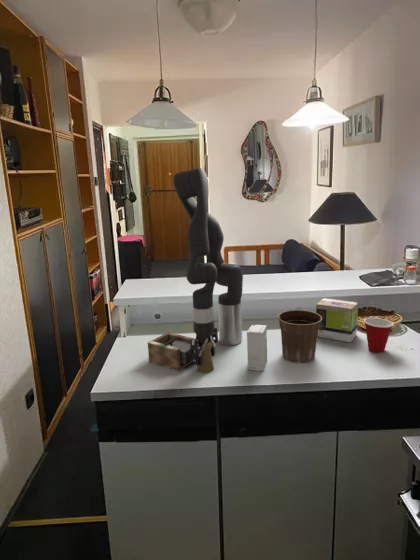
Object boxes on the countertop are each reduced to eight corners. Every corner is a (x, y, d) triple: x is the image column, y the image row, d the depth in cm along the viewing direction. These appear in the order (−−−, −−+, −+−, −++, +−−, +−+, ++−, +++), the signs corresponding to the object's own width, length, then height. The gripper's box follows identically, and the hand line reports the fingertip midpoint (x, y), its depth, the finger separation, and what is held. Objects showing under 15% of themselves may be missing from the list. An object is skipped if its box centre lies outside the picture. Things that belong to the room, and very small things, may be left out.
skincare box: (263, 371, 153) (263, 333, 149) (246, 369, 155) (246, 331, 151) (267, 361, 161) (267, 324, 157) (251, 359, 162) (251, 323, 158)
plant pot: (293, 343, 175) (294, 306, 171) (328, 355, 164) (330, 315, 160) (268, 356, 164) (269, 317, 160) (304, 370, 153) (306, 328, 149)
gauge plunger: (199, 356, 162) (198, 338, 160) (183, 367, 154) (182, 348, 152) (178, 351, 167) (177, 333, 165) (161, 361, 159) (160, 342, 157)
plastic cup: (395, 348, 167) (398, 320, 164) (384, 358, 160) (387, 328, 157) (368, 341, 175) (370, 314, 171) (357, 350, 167) (359, 321, 164)
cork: (212, 373, 153) (211, 345, 150) (195, 372, 154) (194, 344, 151) (215, 365, 159) (214, 338, 156) (199, 365, 160) (198, 337, 157)
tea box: (356, 334, 182) (359, 301, 178) (350, 343, 174) (352, 309, 170) (322, 328, 190) (323, 296, 186) (314, 336, 182) (315, 303, 178)
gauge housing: (197, 358, 165) (196, 337, 163) (178, 370, 156) (176, 349, 154) (168, 350, 173) (167, 331, 171) (149, 362, 163) (147, 341, 161)
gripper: (206, 310, 159) (207, 350, 163) (182, 323, 147) (185, 365, 152) (223, 314, 155) (224, 355, 159) (200, 327, 143) (202, 370, 148)
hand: (205, 360), depth 155 cm, fingers open, 8 cm apart
